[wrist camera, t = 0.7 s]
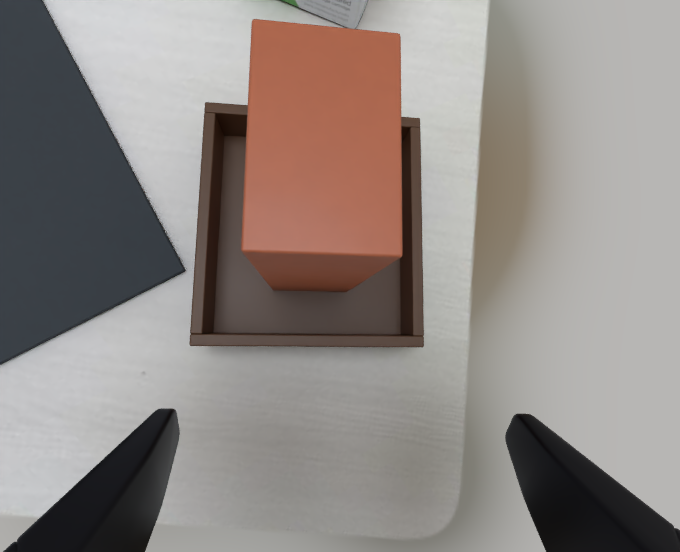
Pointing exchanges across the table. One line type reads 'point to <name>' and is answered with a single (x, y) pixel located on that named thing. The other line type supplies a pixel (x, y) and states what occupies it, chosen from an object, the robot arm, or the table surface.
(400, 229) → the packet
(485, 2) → the table surface
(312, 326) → the tray
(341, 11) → the ink box
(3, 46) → the mat
